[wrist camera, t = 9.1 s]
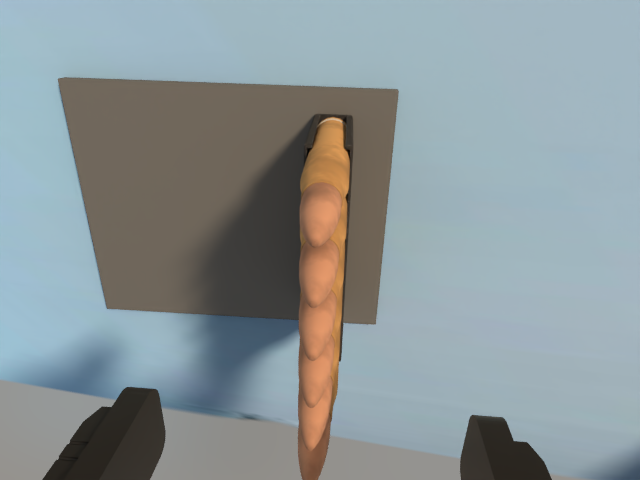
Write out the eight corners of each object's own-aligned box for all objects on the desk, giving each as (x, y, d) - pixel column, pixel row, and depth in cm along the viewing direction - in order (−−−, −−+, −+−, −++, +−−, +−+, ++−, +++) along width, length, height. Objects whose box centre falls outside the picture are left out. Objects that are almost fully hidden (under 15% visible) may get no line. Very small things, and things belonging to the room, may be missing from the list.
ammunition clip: (314, 113, 21) (275, 205, 10) (353, 114, 21) (356, 208, 10) (310, 303, 26) (280, 504, 15) (342, 305, 26) (336, 509, 15)
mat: (397, 89, 21) (398, 90, 20) (375, 318, 27) (375, 324, 26) (64, 77, 22) (57, 78, 21) (111, 302, 27) (107, 308, 27)
